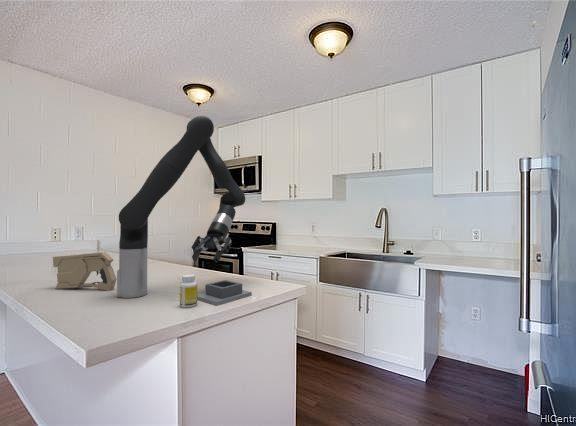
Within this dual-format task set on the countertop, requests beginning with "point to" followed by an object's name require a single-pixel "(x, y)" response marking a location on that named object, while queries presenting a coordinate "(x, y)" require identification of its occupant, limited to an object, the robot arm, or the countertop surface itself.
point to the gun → (84, 270)
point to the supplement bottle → (188, 291)
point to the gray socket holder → (223, 292)
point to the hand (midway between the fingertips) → (204, 260)
